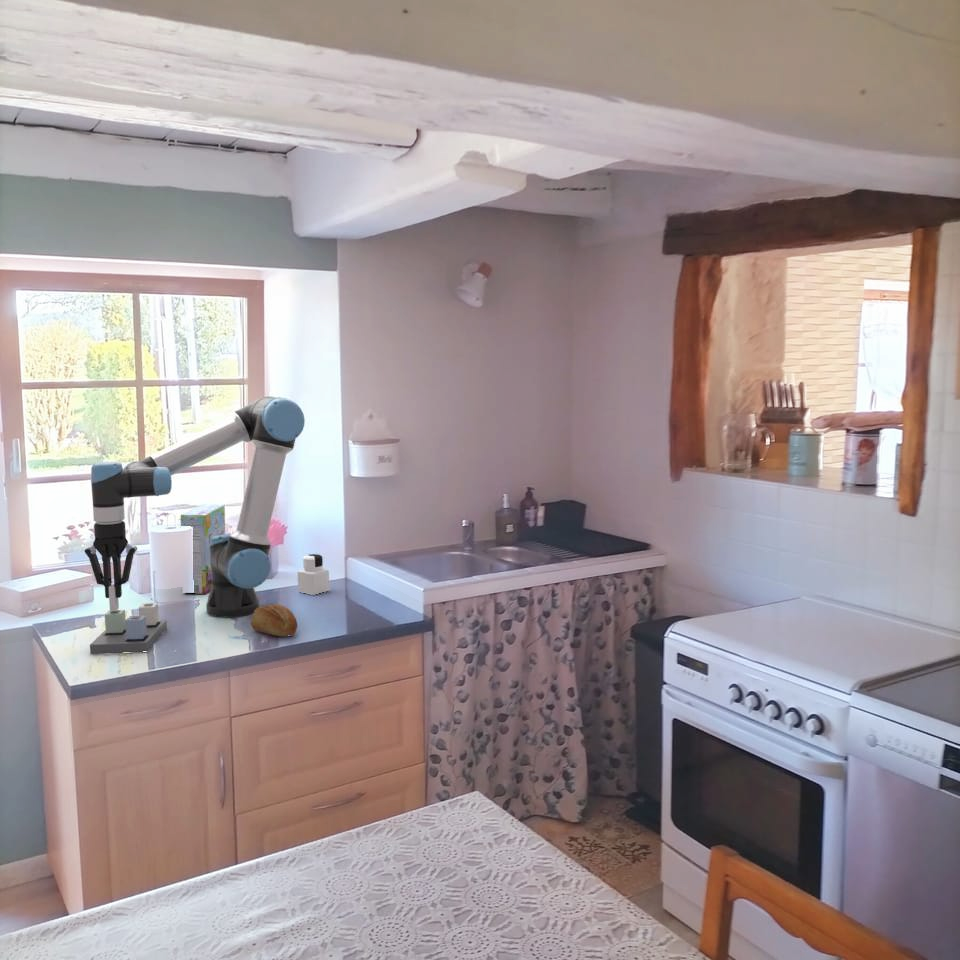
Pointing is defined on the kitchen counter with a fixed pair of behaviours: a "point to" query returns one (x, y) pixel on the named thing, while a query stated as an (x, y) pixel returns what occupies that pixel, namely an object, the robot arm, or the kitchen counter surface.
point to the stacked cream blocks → (313, 575)
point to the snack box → (203, 541)
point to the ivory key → (149, 612)
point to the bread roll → (274, 620)
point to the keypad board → (127, 640)
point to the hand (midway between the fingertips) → (114, 609)
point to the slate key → (136, 627)
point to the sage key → (115, 621)
